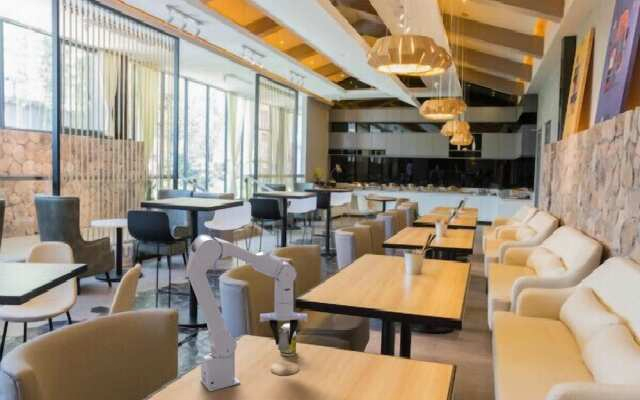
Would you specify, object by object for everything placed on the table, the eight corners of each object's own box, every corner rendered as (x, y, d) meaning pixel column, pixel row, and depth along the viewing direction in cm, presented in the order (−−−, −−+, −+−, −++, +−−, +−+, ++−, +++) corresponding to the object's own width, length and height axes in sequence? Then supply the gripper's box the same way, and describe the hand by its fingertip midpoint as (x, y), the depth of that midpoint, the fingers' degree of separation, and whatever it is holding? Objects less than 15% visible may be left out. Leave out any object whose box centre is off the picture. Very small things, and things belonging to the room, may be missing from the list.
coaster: (278, 377, 152) (278, 376, 152) (265, 366, 160) (265, 365, 159) (304, 370, 157) (304, 369, 157) (289, 360, 164) (289, 359, 164)
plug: (281, 351, 154) (281, 330, 153) (276, 347, 157) (276, 326, 156) (291, 349, 156) (291, 328, 155) (285, 345, 158) (285, 324, 158)
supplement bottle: (295, 356, 168) (295, 328, 167) (279, 356, 168) (279, 328, 167) (296, 350, 173) (296, 322, 172) (281, 349, 173) (281, 322, 172)
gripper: (307, 296, 159) (306, 338, 160) (260, 297, 158) (260, 338, 159) (307, 303, 152) (307, 347, 153) (259, 303, 151) (259, 347, 152)
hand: (283, 343), depth 156 cm, fingers closed on plug, 3 cm apart
